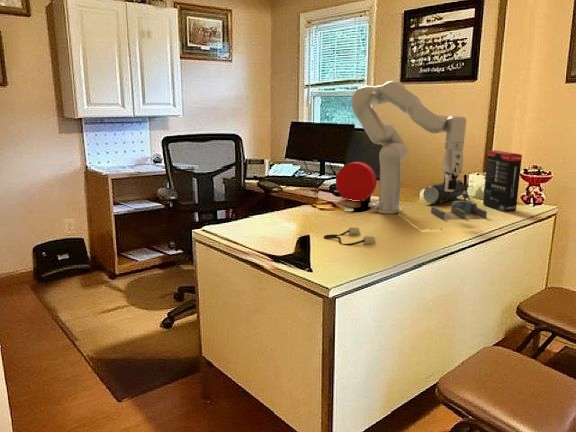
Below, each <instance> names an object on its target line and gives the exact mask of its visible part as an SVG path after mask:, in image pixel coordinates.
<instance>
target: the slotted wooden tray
mask: <svg viewBox="0 0 576 432" xmlns="http://www.w3.org/2000/svg"><path fill="white" fill-rule="evenodd" d="M452 201H453V200H452ZM477 205H478V203H475V202H473V201H472V200H470V201H469V200H465V201H463V200H455V201H453V202H452V203H450V206H451V207H450V208H451V209H450V211H443V210H442V209H439V208H438V207H436V206H433V205H432V206H430V207H431V209H430V213H431V214H432V215H434V216H435V217H437V218H439V219H441V220H442V221H443V220H445V221H446V220H447V221H449V220H453V221H454V220H488V218H487V214H488V211H486V210H484V209H483V208H480V207H478V206H477Z"/></svg>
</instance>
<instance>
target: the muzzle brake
mask: <svg viewBox="0 0 576 432" xmlns="http://www.w3.org/2000/svg"><path fill="white" fill-rule="evenodd" d="M444 189H445V187H444V182H440V183H435V184H434V183H433V184H430V185H427V186H426V188H425V189H424V190H423V199H424V200H425V201H426V202H427V203H429V204H432V205H433V204H435V205H439V204H441V202H447V201H451V200H452V201H453V200H455V199H457V198H458V197H461V196H463V191H466V186H465V183H464V182H463V181H462V180H459V179H457V181H456V189H455V190H454V192H447V191H444Z"/></svg>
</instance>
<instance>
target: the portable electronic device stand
mask: <svg viewBox="0 0 576 432" xmlns="http://www.w3.org/2000/svg"><path fill="white" fill-rule="evenodd" d="M462 198H463V200H462V201H467V199H468V201H471V198H470V196H469V193H468V191H467V190H465V191H463V194H462Z"/></svg>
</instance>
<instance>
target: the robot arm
mask: <svg viewBox="0 0 576 432" xmlns="http://www.w3.org/2000/svg"><path fill="white" fill-rule="evenodd" d="M386 103H390V104H391V105H393V106H395V107H396V108H398V109H399V111H401V112H403V113H404V114H405V115H407V117H409V119H411V120H412V121H413V123H415V124H417V125H418V126H419V127H421V128H422V129H424V131H427V133H430V134H433V135H435V134H436V135H437V134H440V133H445V141H444V142H445V143H444V149H445V150H444V155H443V156H444V157H443V163H442V169H443V173H444V176H443V177H444V178H443V183H444V187H445V180H446V174H448V172H449V173H450V180H449V183H448V189H449V190H455V189H456V181H457V180H458V177H459V176H460V174H461V173H463V166H464V165H463V164H464V146H465V145H464V144H465V136H466V135H465V134H466V128H467V127H466V126H467V118H466V117H465V116H458V115H457V116H456V115H455V116H454V115H453V116H448V115H443V114H435V113H434V112H432V111H431V110H430V109H428V108H427V107H426V106H425V105H424V104H423V103H422V100H421V99H420V98H419V97H418V96H417V95H415V94H414V93H412V92H411V91H409V89H407V88H406V86H405V85H404V84H403V82H400V81H396V80H390V81H387V82H385V83H384V84H382V85H375V86H371V85H364V86H360V87H358V88H357V89H356V90H355V91H354V93H353V95H352V98H351V108H352V111H353V114H354V115H355V117H356V118H357V120H358V122H359V124H360V125H361V126H362V128H363V129H364V132H365V133H366V135H367V136H368V138H369V140H370V141H371V142H372V143H373V144H374V145H381V146H382V147H381V149H380V151H379V155H378V157H379V158H378V159H379V187H378V189H379V190H378V200H376V201H375V202H368V204H367V205H368V206H367V207H369V208H374V211H375V212H376V213H380V214H388V215H393V214H399V213H400V212H402V211H403V209H402V207H400V199H401V198H400V197H401V180H402V167H401V162H403V161H404V160H406V158H407V157H408V153H409V151H408V147H407V145H406V144H405V142H404V140H403V138H402V137H401V136H400V134H399V132H397V130H396V129H395V127H394V126H393V125H392V124H390V123H387V122H383V121H382V119H381V118H380V117H379V115H378V113H377V112H376V110H374V108H373V107H372V106H375V105H381V104H386ZM452 174H454V175H453V176H452Z"/></svg>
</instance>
